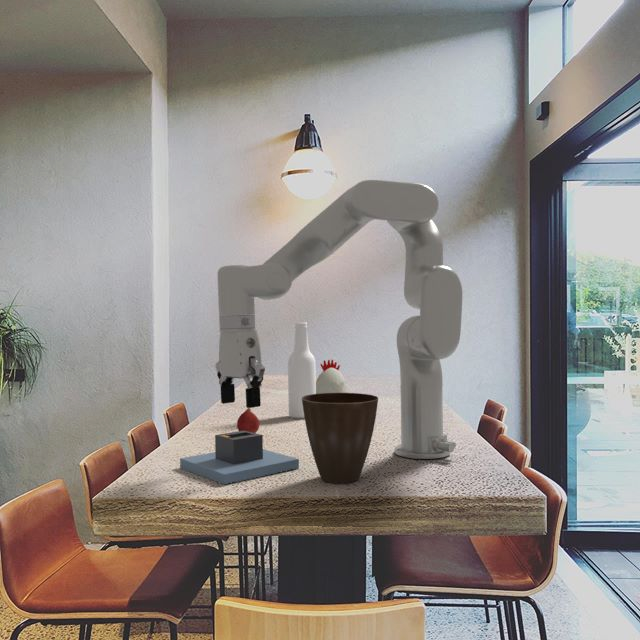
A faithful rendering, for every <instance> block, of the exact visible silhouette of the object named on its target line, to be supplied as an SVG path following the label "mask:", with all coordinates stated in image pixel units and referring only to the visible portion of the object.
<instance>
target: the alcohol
mask: <svg viewBox="0 0 640 640" xmlns="http://www.w3.org/2000/svg"><path fill="white" fill-rule="evenodd" d="M294 328H295V329H294V330H295V331H294V333H295V334H294V347H293V352H292V353H291V354H290V355H289V357H288V361H287V371H288V372H287V379H288V380H287V383H288V388H287V389H288V416H290V418H291V419H301V420H305V418H304V411H303V404H302V397H304V396H306V395H311V394H316V381H317V379H316V378H317V377H316V376H317V372H316V371H317V369H316V367H317V366H316V363H317V362H316V357H315V355H314V354H312V353H311V350H310V346H309V345H310V343H309V336H308V322H303V321H301V322H295V323H294Z"/></svg>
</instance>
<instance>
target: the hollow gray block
mask: <svg viewBox="0 0 640 640" xmlns="http://www.w3.org/2000/svg"><path fill="white" fill-rule="evenodd" d="M214 439H215V440H214V441H215V442H214V446H215V447H214V449H215V451H214V452H215V458H216V459H218V460H221V461H224V462H228V463H231V464H239V463H244V462H249V461H254V460H259V459H263V449H264V447H263V446H264V445H263V444H264V442H263V441H264V439H263V434H261V433H257V432H256V433H252V432H248V431H232V432H227V433H226V432H225V433H220V434H215V435H214Z"/></svg>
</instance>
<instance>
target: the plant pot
mask: <svg viewBox="0 0 640 640" xmlns="http://www.w3.org/2000/svg"><path fill="white" fill-rule="evenodd" d="M378 402H379V396H377V395H374V394H368V393H359V392H349V393H319V394H311V395H306V396H304V397H302V404H303V411H304V418H305V419H304V422H305V429H306V433H307V437H308V441H309V445H310V446H309V447H310V448H311V453H312V456H313V459H314V462H315V466H316V468H317V471H318V474H319V476H320V478H321V480H322V481H323V480H324V482H326V481H327V482H326V483H329V482H332V483H331V484H349V482H352V483H354V481H355V482H357V481H359V479H360V477H361V475H362V471H363V469H364V465H365V463H366V459H367V457H368V453H369V449H370V445H371V442H372V438H373V434H374V433H373V432H374V428H375V424H376V418H377V411H378V404H379V403H378Z"/></svg>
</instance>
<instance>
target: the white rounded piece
mask: <svg viewBox="0 0 640 640" xmlns="http://www.w3.org/2000/svg"><path fill="white" fill-rule="evenodd" d="M326 361H327V362H326ZM337 365H338V366H337ZM320 366H321V367H320V368H321V370H322V372H321V373H320V374H319V375H318V377H317V379H316V394H319V393H350V391H349V388H348V385H347V382H346V379H345V377H344V375H343V374H342V373H341V372H340V371H339V370H340V367H341V365H340V364H338V362H337V361H336V362H334V359H331V360H330V359H328V360H325V359H324V360H323V364H322V363H320Z"/></svg>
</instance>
